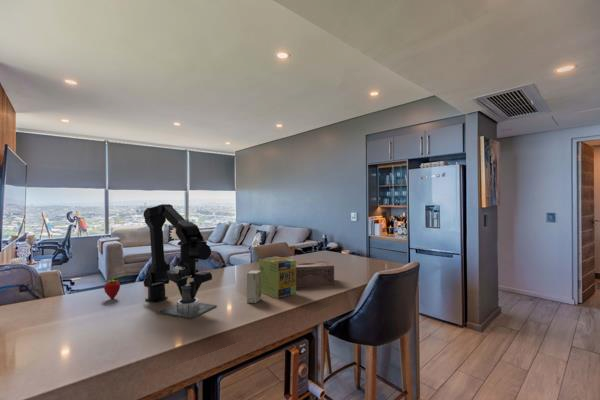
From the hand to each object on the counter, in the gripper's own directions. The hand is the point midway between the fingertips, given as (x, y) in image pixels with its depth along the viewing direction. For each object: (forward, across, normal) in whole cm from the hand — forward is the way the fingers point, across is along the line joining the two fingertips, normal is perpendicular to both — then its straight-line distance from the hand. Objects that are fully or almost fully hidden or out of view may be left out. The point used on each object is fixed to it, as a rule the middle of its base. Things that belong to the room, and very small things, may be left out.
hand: (187, 297), depth 113 cm
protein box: (+5, +22, +33) cm, 40 cm away
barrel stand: (+5, 0, 0) cm, 5 cm away
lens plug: (+3, 0, 0) cm, 3 cm away
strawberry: (+5, -40, -2) cm, 40 cm away
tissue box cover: (+5, +28, +55) cm, 62 cm away
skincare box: (+5, +18, +19) cm, 27 cm away
